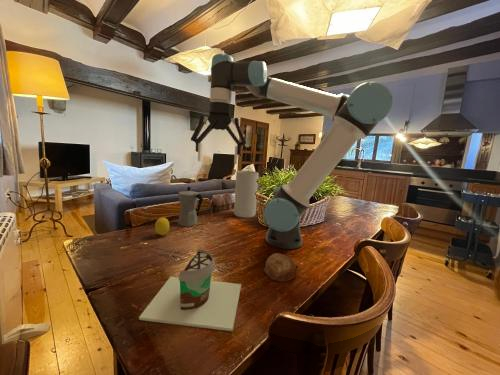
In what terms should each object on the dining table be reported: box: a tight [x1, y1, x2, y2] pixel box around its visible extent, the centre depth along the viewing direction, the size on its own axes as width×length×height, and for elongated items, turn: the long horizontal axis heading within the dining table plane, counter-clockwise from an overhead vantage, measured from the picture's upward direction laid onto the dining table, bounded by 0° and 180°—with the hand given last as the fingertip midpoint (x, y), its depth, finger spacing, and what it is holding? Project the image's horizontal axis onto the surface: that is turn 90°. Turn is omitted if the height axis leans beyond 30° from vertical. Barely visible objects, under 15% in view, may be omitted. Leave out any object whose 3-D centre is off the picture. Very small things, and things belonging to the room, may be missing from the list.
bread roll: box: [263, 252, 299, 282], centre depth 71 cm, size 10×10×8 cm
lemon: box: [154, 216, 170, 237], centre depth 93 cm, size 6×6×8 cm
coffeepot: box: [177, 186, 204, 227], centre depth 109 cm, size 15×9×18 cm, turn 59°
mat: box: [138, 276, 242, 332], centre depth 56 cm, size 20×16×1 cm
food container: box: [178, 248, 216, 310], centre depth 55 cm, size 12×6×10 cm, turn 174°
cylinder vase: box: [233, 170, 260, 219], centre depth 130 cm, size 12×12×25 cm
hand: (217, 162), depth 85 cm, fingers open, 13 cm apart
